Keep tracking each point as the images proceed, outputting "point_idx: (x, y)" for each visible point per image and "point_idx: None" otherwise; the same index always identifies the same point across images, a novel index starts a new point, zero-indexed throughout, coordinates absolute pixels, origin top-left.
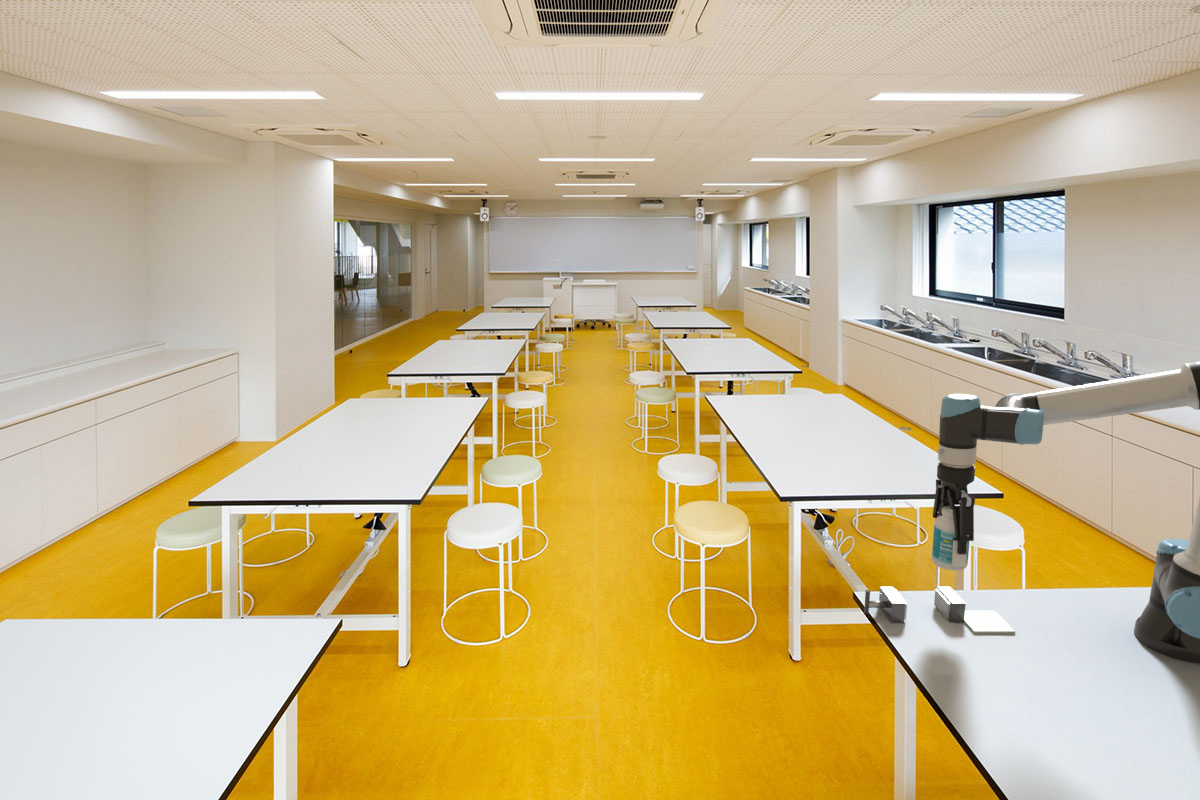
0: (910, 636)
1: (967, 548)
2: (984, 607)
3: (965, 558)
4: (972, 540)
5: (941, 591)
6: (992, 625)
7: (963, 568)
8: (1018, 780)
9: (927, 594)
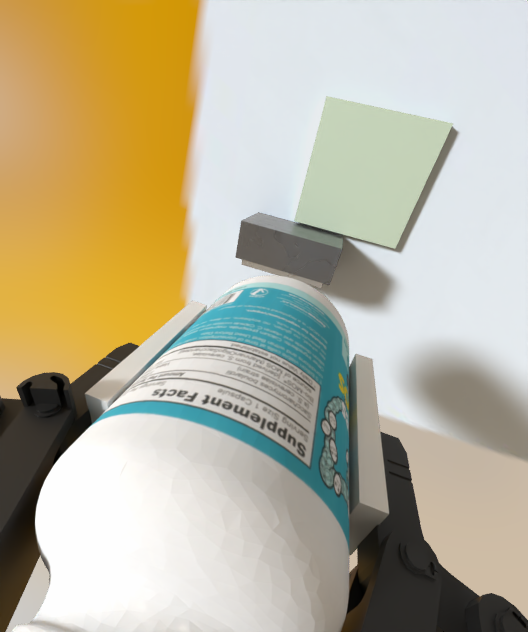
0: None
1: (342, 385)
2: (290, 107)
3: (374, 390)
4: (522, 624)
5: (261, 264)
6: (393, 175)
7: (347, 334)
8: None
9: (202, 225)
